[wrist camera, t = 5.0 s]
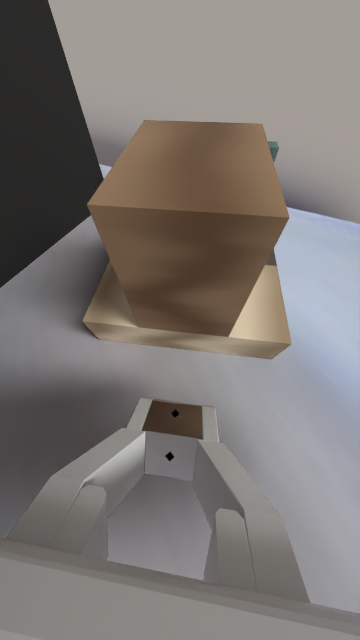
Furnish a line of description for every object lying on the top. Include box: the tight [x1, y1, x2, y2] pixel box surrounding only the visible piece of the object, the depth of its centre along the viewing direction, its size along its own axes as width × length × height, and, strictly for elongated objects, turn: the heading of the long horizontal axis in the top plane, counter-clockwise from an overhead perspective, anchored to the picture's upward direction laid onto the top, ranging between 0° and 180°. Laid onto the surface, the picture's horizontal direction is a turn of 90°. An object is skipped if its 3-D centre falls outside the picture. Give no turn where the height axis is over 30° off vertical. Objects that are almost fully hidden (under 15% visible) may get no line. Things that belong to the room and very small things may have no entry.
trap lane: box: [82, 142, 291, 359], centre depth 17 cm, size 14×20×7 cm
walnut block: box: [87, 120, 289, 337], centre depth 11 cm, size 6×8×8 cm
